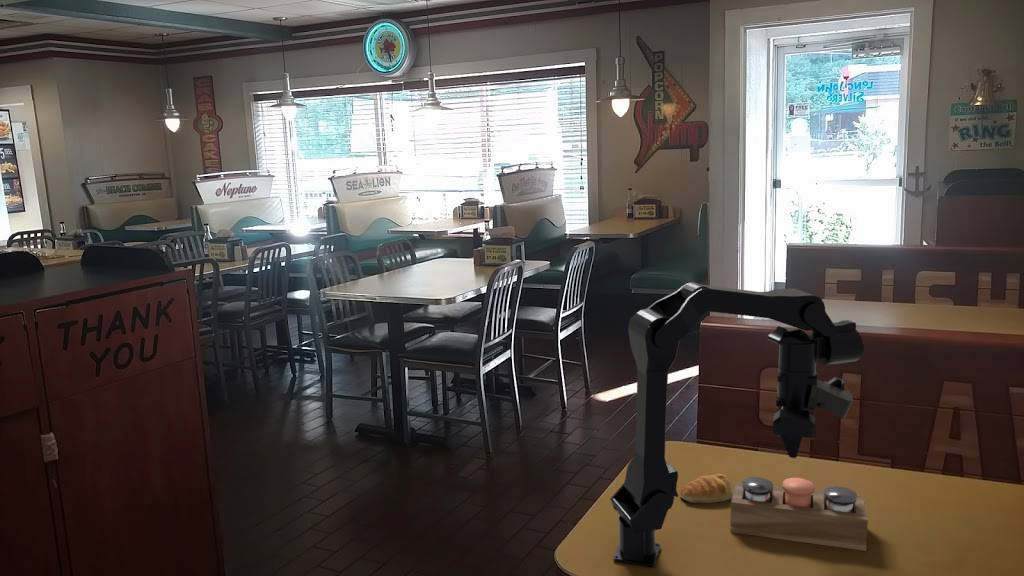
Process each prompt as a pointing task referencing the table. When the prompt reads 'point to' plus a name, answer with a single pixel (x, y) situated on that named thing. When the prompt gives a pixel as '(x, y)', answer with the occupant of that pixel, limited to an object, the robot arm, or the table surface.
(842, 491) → the plunger
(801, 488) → the pink stopper
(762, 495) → the plunger
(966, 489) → the table surface
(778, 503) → the brown wooden rack
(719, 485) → the pastry
